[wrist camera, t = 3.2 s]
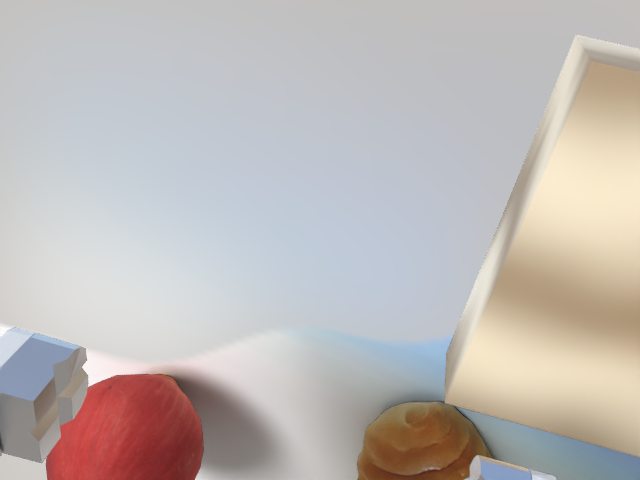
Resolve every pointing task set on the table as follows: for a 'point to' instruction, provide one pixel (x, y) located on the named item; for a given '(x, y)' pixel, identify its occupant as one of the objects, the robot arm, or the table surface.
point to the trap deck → (565, 268)
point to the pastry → (420, 444)
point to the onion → (130, 433)
